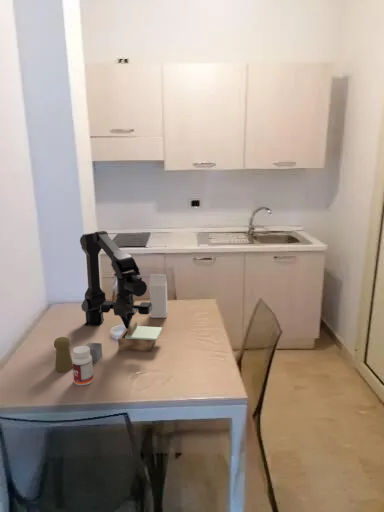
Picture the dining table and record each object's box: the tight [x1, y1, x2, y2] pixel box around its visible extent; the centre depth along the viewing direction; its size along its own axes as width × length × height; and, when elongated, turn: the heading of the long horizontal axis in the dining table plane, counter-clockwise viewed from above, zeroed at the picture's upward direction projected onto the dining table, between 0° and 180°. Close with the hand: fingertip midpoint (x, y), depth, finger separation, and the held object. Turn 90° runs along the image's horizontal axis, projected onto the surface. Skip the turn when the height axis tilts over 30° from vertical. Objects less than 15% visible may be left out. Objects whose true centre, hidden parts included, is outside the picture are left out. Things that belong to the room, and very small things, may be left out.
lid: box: [125, 321, 164, 341], centre depth 155 cm, size 12×10×3 cm
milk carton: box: [148, 274, 168, 319], centre depth 184 cm, size 7×7×19 cm
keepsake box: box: [117, 328, 157, 353], centre depth 157 cm, size 12×10×4 cm
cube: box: [85, 342, 103, 364], centre depth 147 cm, size 5×5×5 cm
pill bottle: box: [71, 345, 94, 386], centre depth 132 cm, size 6×6×11 cm
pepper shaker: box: [53, 336, 73, 373], centre depth 140 cm, size 6×6×11 cm
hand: (127, 328), depth 156 cm, fingers closed
